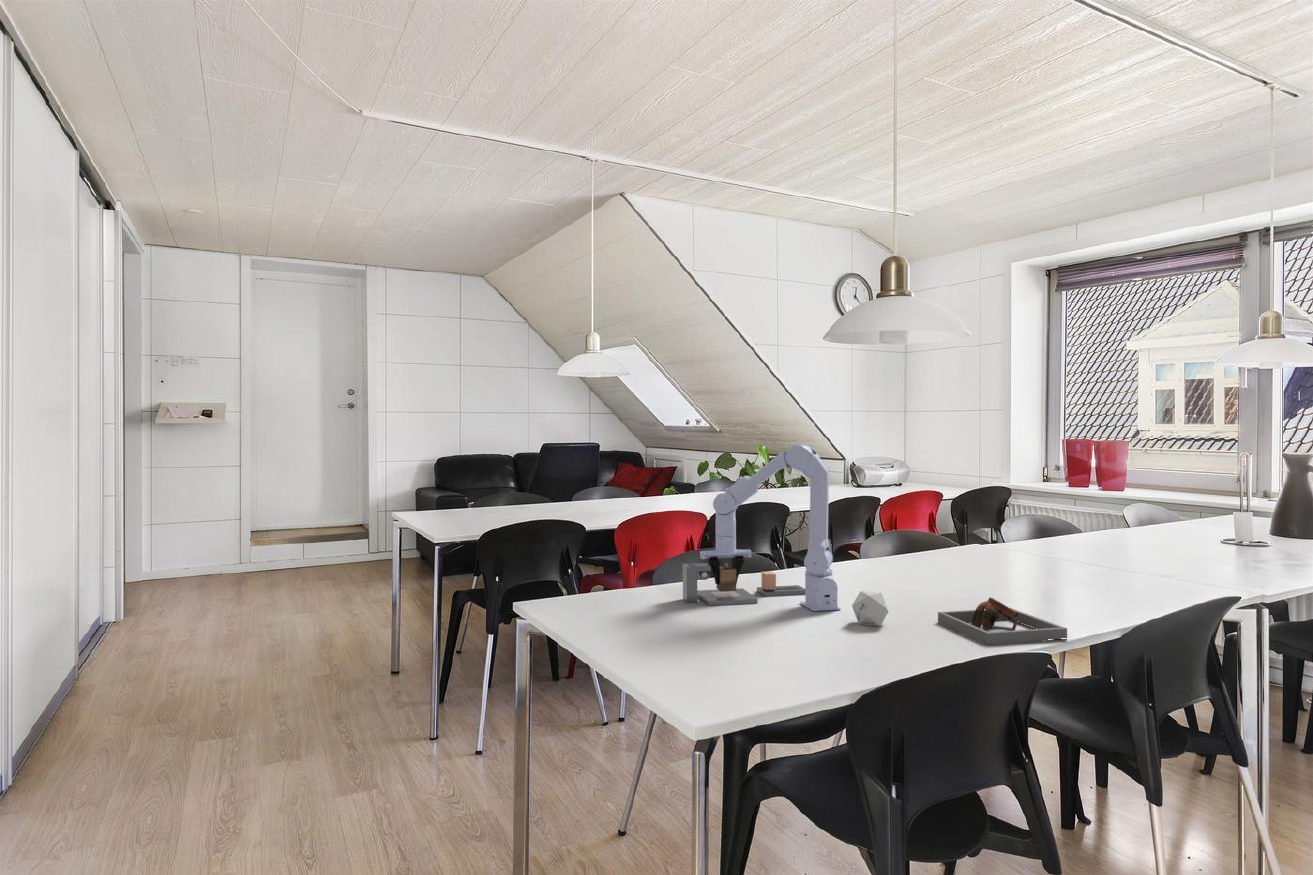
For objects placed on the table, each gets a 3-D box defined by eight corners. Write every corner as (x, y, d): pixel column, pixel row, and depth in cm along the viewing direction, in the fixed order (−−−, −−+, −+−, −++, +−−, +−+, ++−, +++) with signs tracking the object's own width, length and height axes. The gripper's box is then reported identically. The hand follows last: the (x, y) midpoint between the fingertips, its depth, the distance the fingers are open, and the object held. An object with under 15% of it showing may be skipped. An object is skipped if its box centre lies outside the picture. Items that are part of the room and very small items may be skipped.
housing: (736, 590, 213) (736, 564, 213) (720, 591, 212) (720, 564, 212) (731, 587, 218) (731, 561, 217) (716, 588, 217) (716, 561, 217)
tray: (1067, 639, 172) (1067, 628, 172) (987, 644, 168) (987, 633, 168) (1010, 617, 192) (1010, 607, 192) (937, 622, 188) (937, 612, 188)
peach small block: (775, 589, 220) (775, 574, 220) (766, 589, 220) (765, 574, 219) (771, 586, 224) (771, 571, 224) (761, 587, 223) (761, 571, 223)
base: (807, 594, 220) (807, 589, 220) (764, 596, 218) (764, 591, 218) (798, 589, 227) (798, 584, 227) (756, 591, 225) (756, 586, 225)
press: (757, 603, 210) (757, 567, 210) (690, 606, 206) (690, 569, 206) (742, 592, 223) (742, 558, 223) (679, 595, 220) (679, 561, 220)
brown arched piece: (970, 623, 189) (988, 595, 188) (1007, 646, 184) (1025, 616, 183) (962, 621, 179) (981, 591, 178) (1001, 645, 174) (1020, 614, 173)
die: (847, 622, 191) (843, 597, 186) (870, 602, 194) (867, 577, 189) (872, 640, 185) (869, 615, 180) (896, 619, 188) (894, 594, 183)
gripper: (746, 532, 220) (746, 579, 220) (697, 534, 218) (697, 581, 218) (753, 536, 213) (753, 584, 214) (703, 537, 211) (703, 586, 211)
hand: (726, 583), depth 215 cm, fingers closed on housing, 4 cm apart
